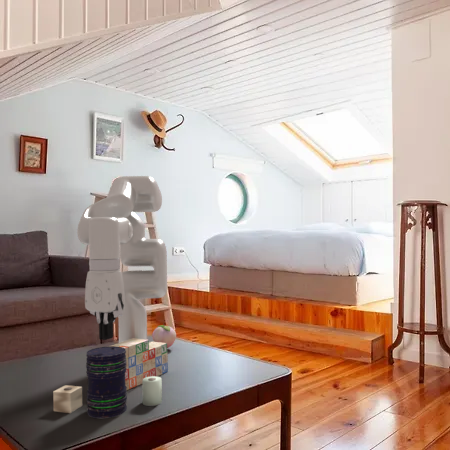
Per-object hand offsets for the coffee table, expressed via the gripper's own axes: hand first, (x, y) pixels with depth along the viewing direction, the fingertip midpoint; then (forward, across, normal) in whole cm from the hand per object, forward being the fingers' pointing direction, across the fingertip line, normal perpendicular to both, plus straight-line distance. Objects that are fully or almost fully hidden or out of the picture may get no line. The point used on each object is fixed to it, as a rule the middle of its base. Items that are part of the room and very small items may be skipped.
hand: (106, 338), depth 117 cm
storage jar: (+18, 0, 0) cm, 18 cm away
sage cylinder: (+18, +6, +10) cm, 21 cm away
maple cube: (+18, -10, -4) cm, 21 cm away
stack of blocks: (+19, -10, +22) cm, 30 cm away
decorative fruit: (+19, -27, +54) cm, 63 cm away
